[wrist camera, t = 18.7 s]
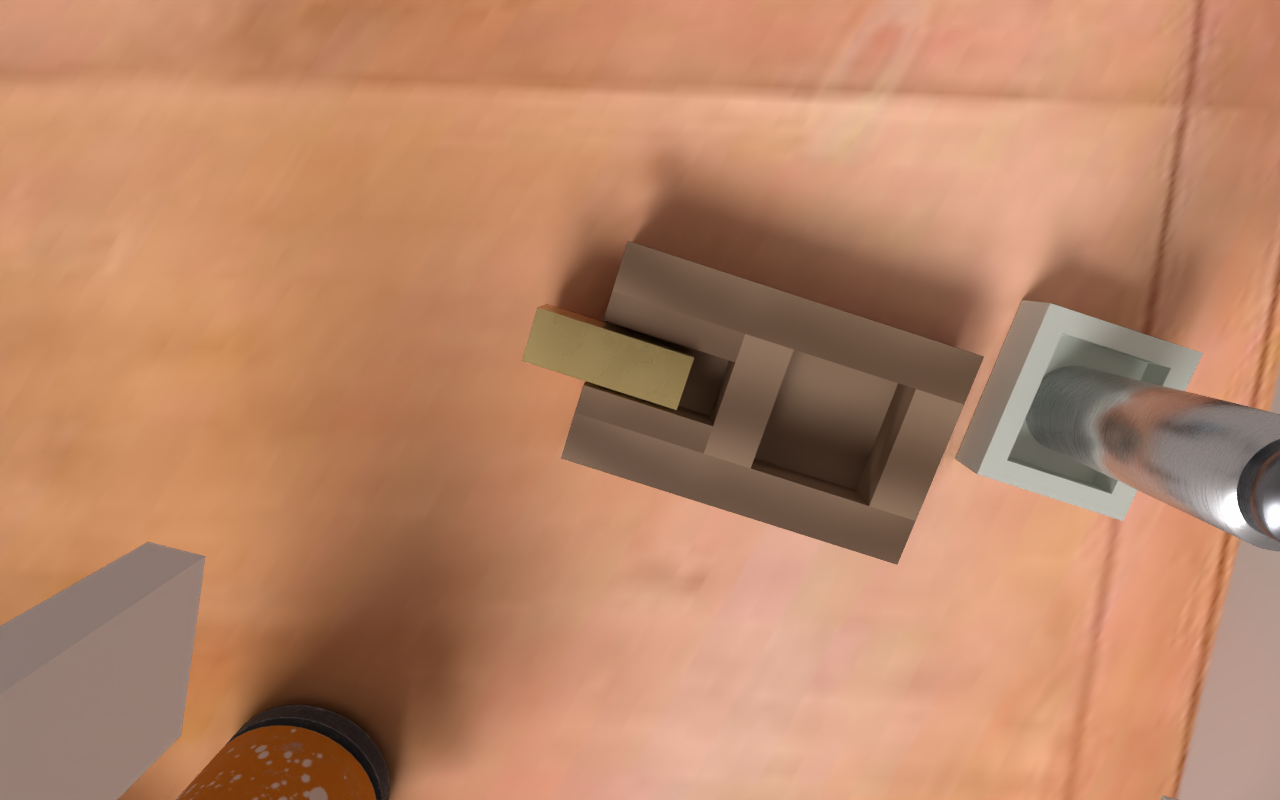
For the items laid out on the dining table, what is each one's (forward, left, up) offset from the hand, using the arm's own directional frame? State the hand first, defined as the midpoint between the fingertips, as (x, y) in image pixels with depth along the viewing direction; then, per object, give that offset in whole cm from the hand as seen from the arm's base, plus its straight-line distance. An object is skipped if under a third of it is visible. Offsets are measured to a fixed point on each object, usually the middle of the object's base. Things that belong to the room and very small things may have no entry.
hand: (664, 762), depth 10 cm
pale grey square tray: (-6, +18, -26) cm, 32 cm away
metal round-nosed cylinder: (-6, +18, -25) cm, 31 cm away
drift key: (-2, -3, -26) cm, 26 cm away
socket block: (-2, +4, -26) cm, 26 cm away
